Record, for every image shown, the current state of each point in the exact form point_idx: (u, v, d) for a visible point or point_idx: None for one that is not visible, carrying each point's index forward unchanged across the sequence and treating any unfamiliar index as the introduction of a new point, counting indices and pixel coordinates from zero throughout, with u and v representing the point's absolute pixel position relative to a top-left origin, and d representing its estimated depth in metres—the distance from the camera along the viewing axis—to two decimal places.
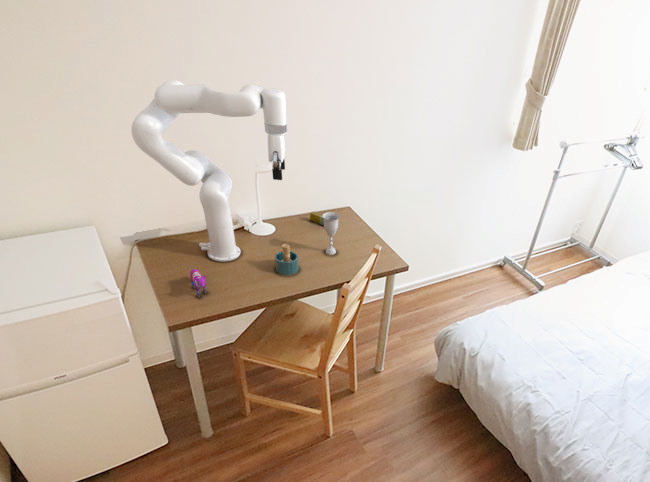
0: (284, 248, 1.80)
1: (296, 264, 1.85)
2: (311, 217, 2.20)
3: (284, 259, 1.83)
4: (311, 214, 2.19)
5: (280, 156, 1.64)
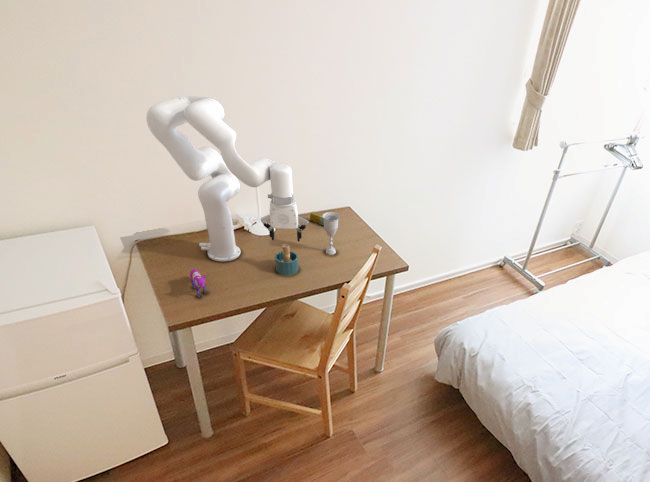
0: (284, 248, 1.80)
1: (296, 264, 1.85)
2: (311, 217, 2.20)
3: (284, 259, 1.83)
4: (311, 214, 2.19)
5: None
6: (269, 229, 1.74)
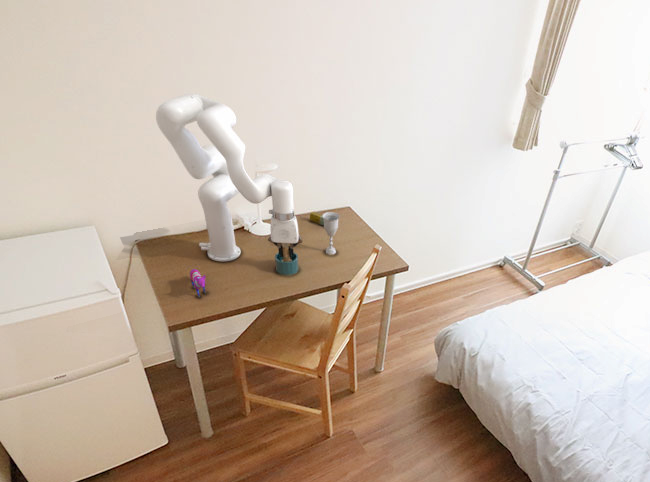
0: (284, 248, 1.80)
1: (296, 264, 1.85)
2: (311, 217, 2.20)
3: (284, 259, 1.83)
4: (311, 214, 2.19)
5: (298, 232, 1.80)
6: (278, 246, 1.79)
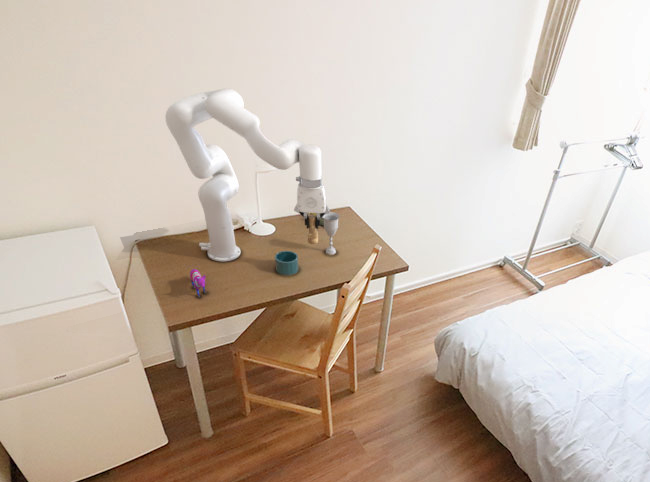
0: (310, 219, 1.72)
1: (296, 264, 1.85)
2: None
3: (310, 231, 1.76)
4: (311, 214, 2.19)
5: None
6: (305, 217, 1.72)
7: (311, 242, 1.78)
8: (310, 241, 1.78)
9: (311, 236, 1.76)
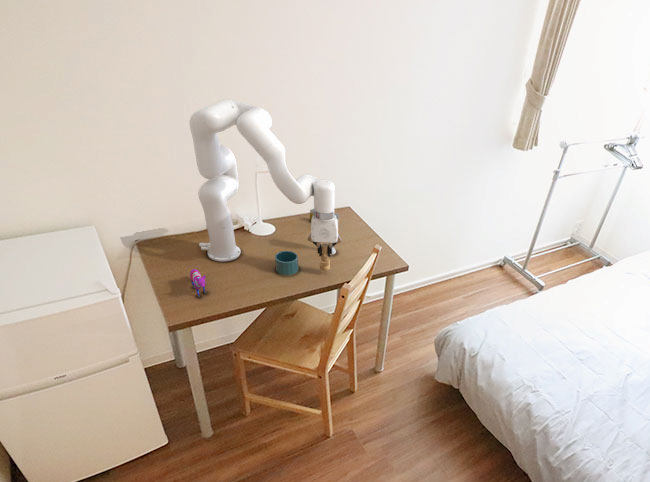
0: (323, 247, 1.80)
1: (296, 264, 1.85)
2: (311, 217, 2.20)
3: (322, 258, 1.84)
4: (311, 214, 2.19)
5: None
6: (317, 246, 1.80)
7: (323, 269, 1.86)
8: (322, 268, 1.86)
9: (323, 263, 1.84)
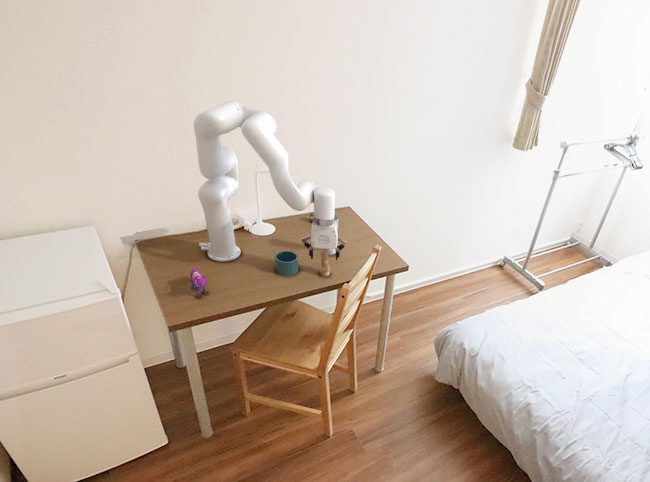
0: (323, 254, 1.82)
1: (296, 264, 1.85)
2: None
3: (322, 265, 1.85)
4: (311, 214, 2.19)
5: None
6: (309, 248, 1.80)
7: (323, 275, 1.88)
8: (322, 274, 1.87)
9: (323, 269, 1.86)
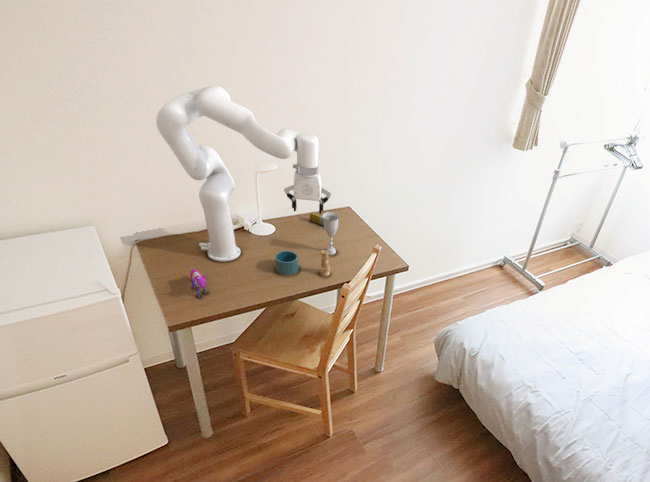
0: (323, 254, 1.82)
1: (296, 264, 1.85)
2: (311, 217, 2.20)
3: (322, 265, 1.85)
4: (311, 214, 2.19)
5: None
6: (292, 200, 1.75)
7: (323, 275, 1.88)
8: (322, 274, 1.87)
9: (323, 269, 1.86)
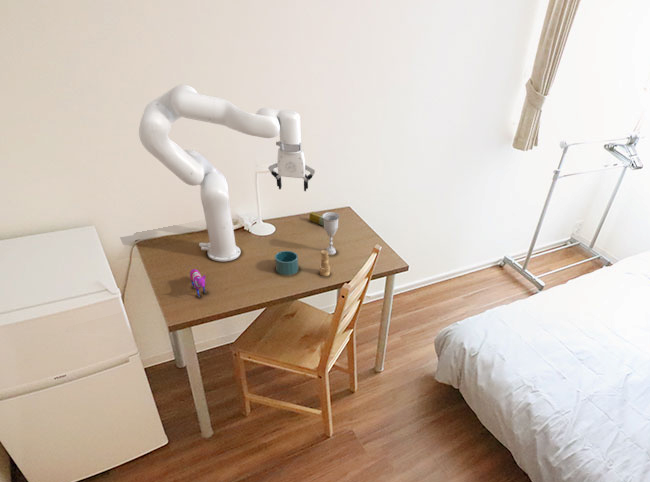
0: (323, 254, 1.82)
1: (296, 264, 1.85)
2: (310, 217, 2.20)
3: (322, 265, 1.85)
4: (311, 214, 2.19)
5: None
6: (276, 178, 1.78)
7: (323, 275, 1.88)
8: (322, 274, 1.87)
9: (323, 269, 1.86)
